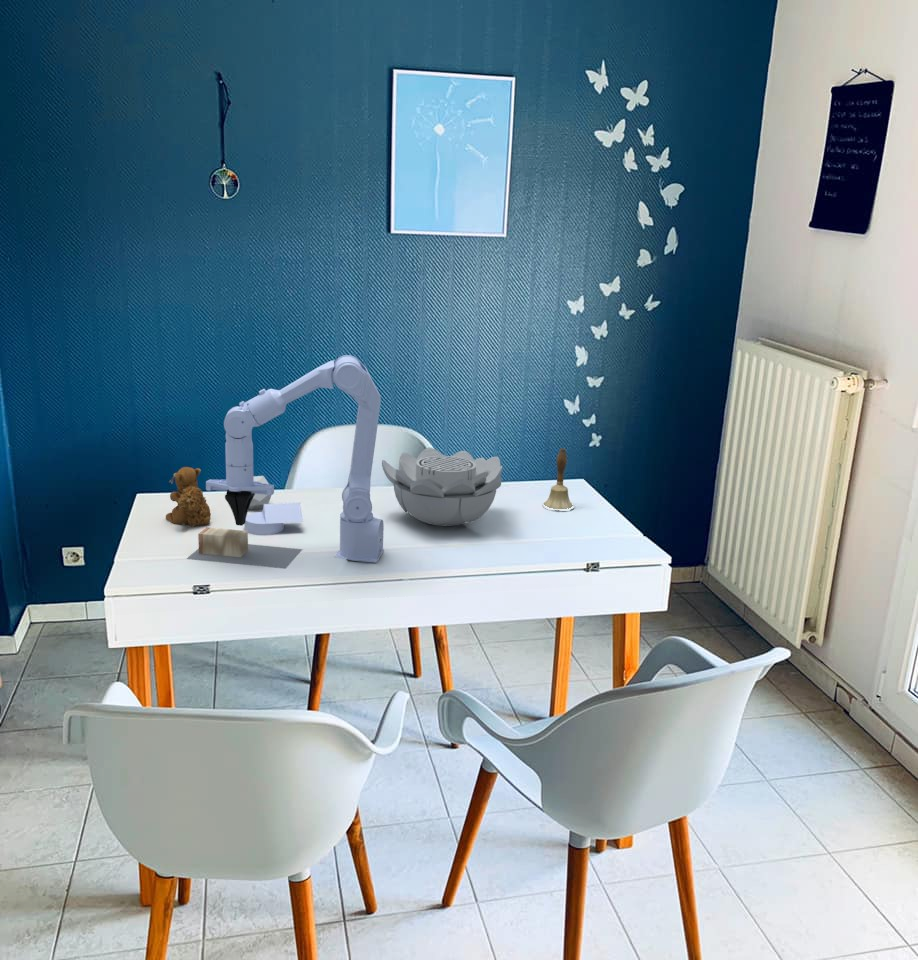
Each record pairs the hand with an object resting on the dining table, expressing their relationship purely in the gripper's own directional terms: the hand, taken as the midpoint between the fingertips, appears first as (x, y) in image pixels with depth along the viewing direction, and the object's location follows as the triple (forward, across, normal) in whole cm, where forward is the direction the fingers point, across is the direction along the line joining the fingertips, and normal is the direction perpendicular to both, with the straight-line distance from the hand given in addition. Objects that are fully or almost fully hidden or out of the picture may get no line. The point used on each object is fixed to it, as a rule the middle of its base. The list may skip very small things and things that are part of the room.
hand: (240, 524), depth 206 cm
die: (+8, -9, +34) cm, 36 cm away
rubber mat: (+7, +1, 0) cm, 7 cm away
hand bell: (+8, +67, +56) cm, 88 cm away
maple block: (+5, +1, 0) cm, 5 cm away
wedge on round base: (+8, +1, +18) cm, 20 cm away
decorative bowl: (+8, +40, +36) cm, 54 cm away
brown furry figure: (+8, -19, +19) cm, 28 cm away
